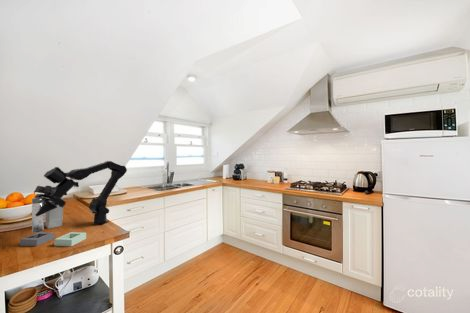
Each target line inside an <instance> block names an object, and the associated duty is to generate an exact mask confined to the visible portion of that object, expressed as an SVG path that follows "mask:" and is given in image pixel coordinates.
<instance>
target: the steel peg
mask: <svg viewBox="0 0 470 313" xmlns="http://www.w3.org/2000/svg"><path fill="white" fill-rule="evenodd" d="M43 205H44V198H43V197H40V198H34V197H33V198H31V213H32V214H31V233H33V234H35V233H38V232H43V231H44V229H45V228H44V227H45V222H44V221H45V218H44V216H45V213H44V214H42V215H40V216H35V215H36V213H37V212H38V211H39V210H40V209H41V208H42V206H43Z"/></svg>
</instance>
